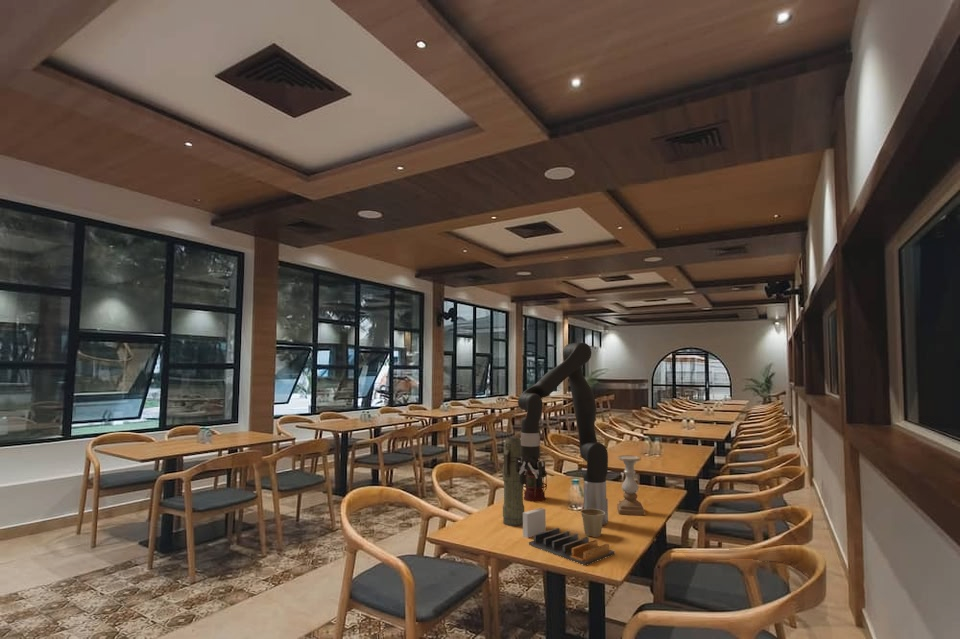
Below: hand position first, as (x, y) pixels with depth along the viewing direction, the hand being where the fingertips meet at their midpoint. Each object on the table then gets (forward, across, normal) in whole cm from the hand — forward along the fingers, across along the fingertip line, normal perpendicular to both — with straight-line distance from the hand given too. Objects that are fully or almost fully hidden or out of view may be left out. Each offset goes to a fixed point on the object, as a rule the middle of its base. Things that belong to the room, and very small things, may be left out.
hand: (530, 486), depth 209 cm
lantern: (+18, +37, -38) cm, 56 cm away
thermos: (+18, +15, -4) cm, 24 cm away
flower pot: (+18, -15, -19) cm, 30 cm away
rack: (+18, -21, 0) cm, 28 cm away
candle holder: (+18, -5, -56) cm, 59 cm away
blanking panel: (+18, -1, -1) cm, 18 cm away
